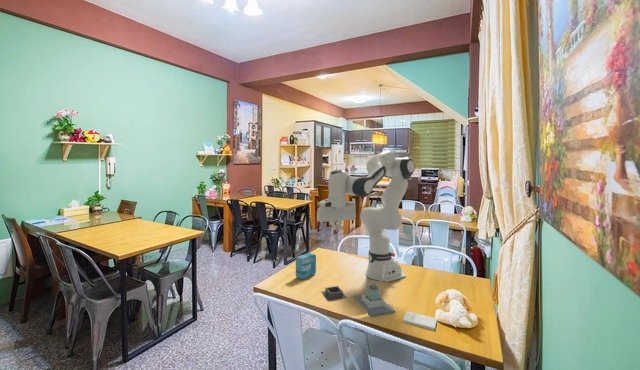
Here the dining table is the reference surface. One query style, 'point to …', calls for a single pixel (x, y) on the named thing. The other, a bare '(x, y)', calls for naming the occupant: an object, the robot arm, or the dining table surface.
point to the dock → (374, 306)
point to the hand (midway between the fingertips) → (336, 229)
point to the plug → (372, 293)
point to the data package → (305, 265)
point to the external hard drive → (420, 320)
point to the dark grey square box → (333, 293)
